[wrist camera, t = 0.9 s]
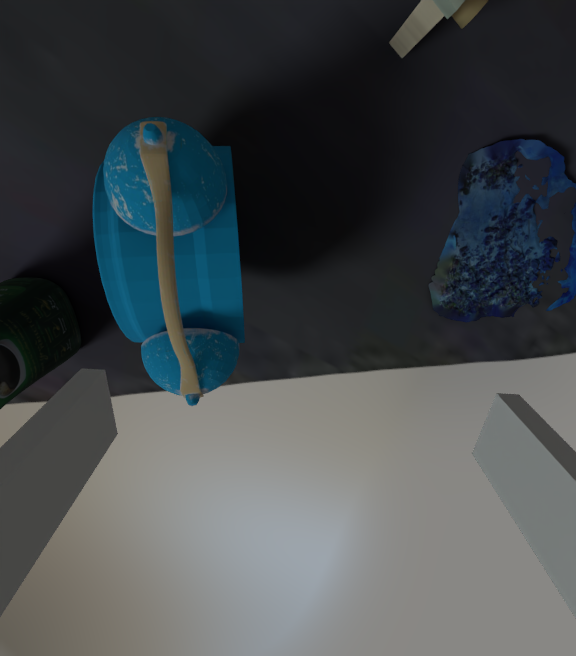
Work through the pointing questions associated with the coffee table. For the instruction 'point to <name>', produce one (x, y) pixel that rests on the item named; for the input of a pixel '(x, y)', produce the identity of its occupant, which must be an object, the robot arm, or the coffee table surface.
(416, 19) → the gate
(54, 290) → the coffee jar
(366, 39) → the coffee table surface
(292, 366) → the coffee table surface
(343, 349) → the coffee table surface
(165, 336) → the alarm clock
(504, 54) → the coffee table surface
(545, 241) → the rock
